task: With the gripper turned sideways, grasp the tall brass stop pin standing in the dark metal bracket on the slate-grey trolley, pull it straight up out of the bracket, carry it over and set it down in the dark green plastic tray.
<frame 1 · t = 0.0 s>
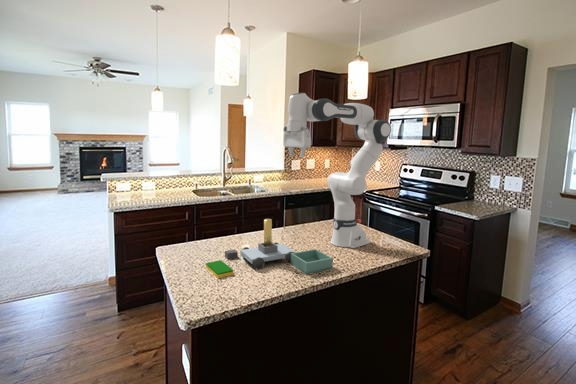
hand: (296, 156, 157), 48 cm above the countertop, tool pointing down, fingers open, 8 cm apart
wheel chock: (231, 257, 156), on the countertop
stop pin: (267, 250, 152), point 4 cm above the countertop, touching trolley
trolley: (267, 259, 153), on the countertop
tray: (311, 266, 146), on the countertop
dish sponge: (219, 272, 140), on the countertop
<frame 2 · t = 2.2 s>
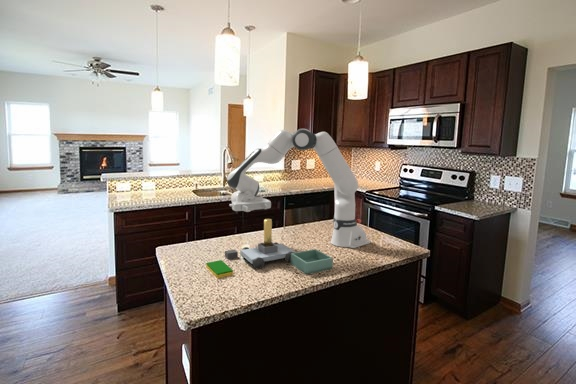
hand: (257, 208, 159), 23 cm above the countertop, tool horizontal, fingers open, 8 cm apart
nothing on the countertop moved.
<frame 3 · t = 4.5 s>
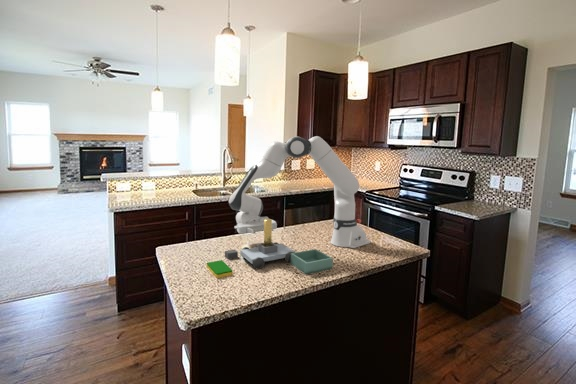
hand: (263, 230, 156), 13 cm above the countertop, tool horizontal, fingers open, 8 cm apart
nothing on the countertop moved.
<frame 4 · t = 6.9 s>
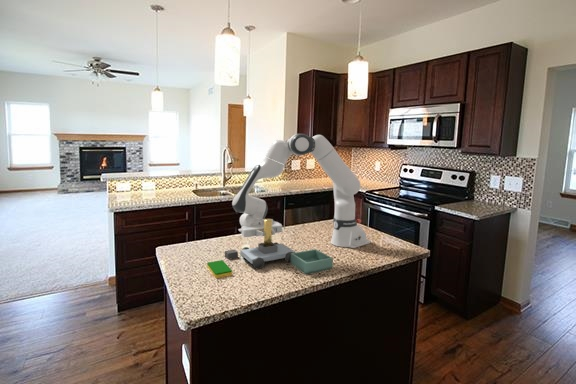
hand: (268, 233, 150), 13 cm above the countertop, tool horizontal, fingers closed on stop pin, 4 cm apart
stop pin: (267, 250, 152), point 5 cm above the countertop, touching gripper, trolley
everything else where it was.
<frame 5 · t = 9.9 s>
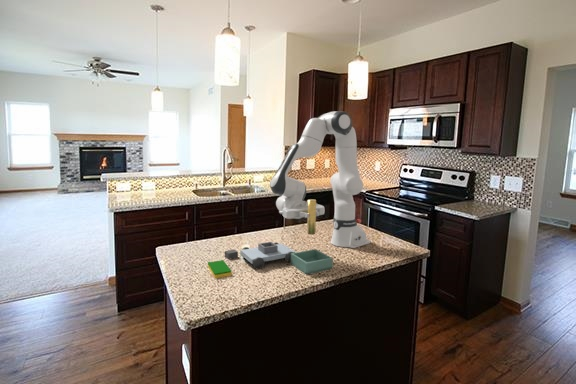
hand: (312, 215, 141), 24 cm above the countertop, tool horizontal, fingers closed on stop pin, 4 cm apart
stop pin: (311, 233, 143), point 15 cm above the countertop, touching gripper
everything else where it was.
when the fingers open (11 cm above the countertop, at t = 13.1 s): stop pin drops 2 cm, resting on tray.
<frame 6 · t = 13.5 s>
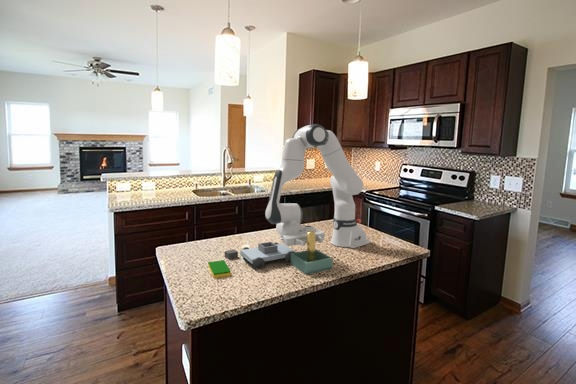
hand: (312, 242, 143), 11 cm above the countertop, tool horizontal, fingers open, 8 cm apart
stop pin: (311, 264, 145), point 1 cm above the countertop, touching tray
everything else where it was.
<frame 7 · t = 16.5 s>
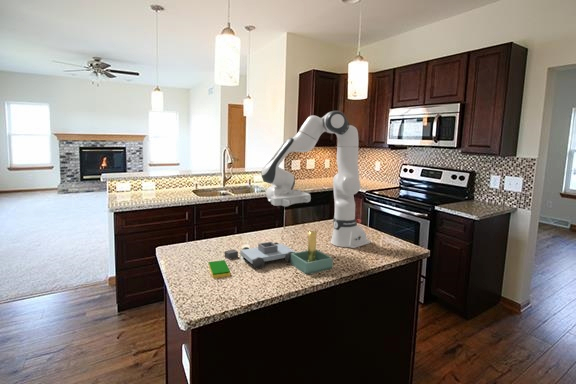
hand: (298, 201, 152), 27 cm above the countertop, tool horizontal, fingers open, 8 cm apart
nothing on the countertop moved.
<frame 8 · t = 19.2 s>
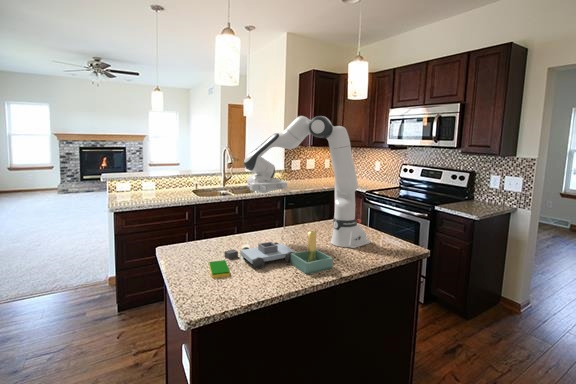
hand: (274, 187, 164), 32 cm above the countertop, tool horizontal, fingers open, 8 cm apart
at the end: stop pin inside the target area on the tray (0.0 cm from its centre), point 1.0 cm above the tray's base; the gripper is holding nothing; stop pin moved 21.6 cm from its start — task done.
